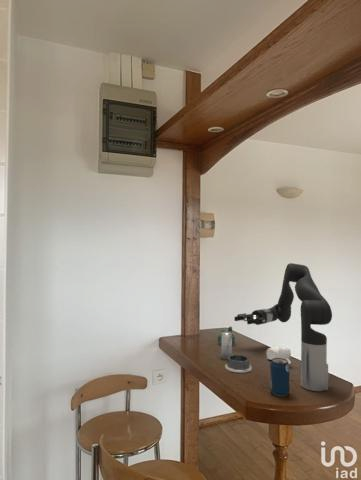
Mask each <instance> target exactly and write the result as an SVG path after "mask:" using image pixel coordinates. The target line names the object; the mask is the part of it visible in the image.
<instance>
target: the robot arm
mask: <svg viewBox="0 0 361 480" xmlns="http://www.w3.org/2000/svg"><path fill="white" fill-rule="evenodd" d="M283 275H284V276H283V281H282V286H281V290H280V291H281V292H280V296H279V298H278V302H277V303H276V304H274V305H273V306H271V307H270V308H263V309H262V308H261V309H256V310H252V312H251V313H248V314H247V313H240V314H236V315H237V316H234V317H233V318H234V321H235V322H238V321H239V322H240V321H243V322H246V324H247V325H257V326H259V325H264V324H265V325H266V324H268V323H271V322H276V321H277V320H278V321H280V322H281V323H287V322H288V321H289V320H290V319H291V316H292V304H293V303H294V299H295V295H294V292H293V289H292V287H291V284H290V282H292V283H295V286H294V291H295V293H296V296H297V298H298V299H299V300H300V302H301V304H300V327H301V328H300V329H301V331H300V333H301V334H300V335H301V337H300V338H301V342H300V343H301V344H300V345H301V347H300V351H301V352H300V358H301V359H300V385H301V387H302V388H303V389H306V390H307V391H308V390H309V391H313V392H323V391H329V364H328V363H327V362H328V361H327V360H328V359H327V355H328V354H327V353H328V352H327V351H328V350H327V346H328V345H327V344H328V342H327V341H328V339H327V336H326V334H324V333H322V332H318V331H317V330H315V329H314V328H313V327H312V326H311V325H316V326H317V325H318V326H325V325H328V324H330V323H331V321H332V319H333V312H332V308H331V306H330V304H329V302H328V301H327V300H326V298H325V297H324V296H323V295H322V294H321V292H320V290H319V288H318V287H317V285H316V283H315V281H314V280H313V278H312V275H311V271H310V269H309V267H308V266H306V265H305V264H304V265H303V264H300V263H299V264H298V263H291V262H290V263H288V264H287V265H286V268H285V270H284V274H283Z"/></svg>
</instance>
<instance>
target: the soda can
mask: <svg viewBox="0 0 361 480" xmlns="http://www.w3.org/2000/svg"><path fill="white" fill-rule="evenodd" d="M290 368H291V367H290V364H288V361H287V360H286V359H282V358H273V359H272V360H271V362H270V365H269V390H270V392H271V394H273V395H274V396H276V397H286V396H288V394H289V393H290V383H291V382H290V380H291V379H290V374H291V373H290V372H291V370H290Z"/></svg>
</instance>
